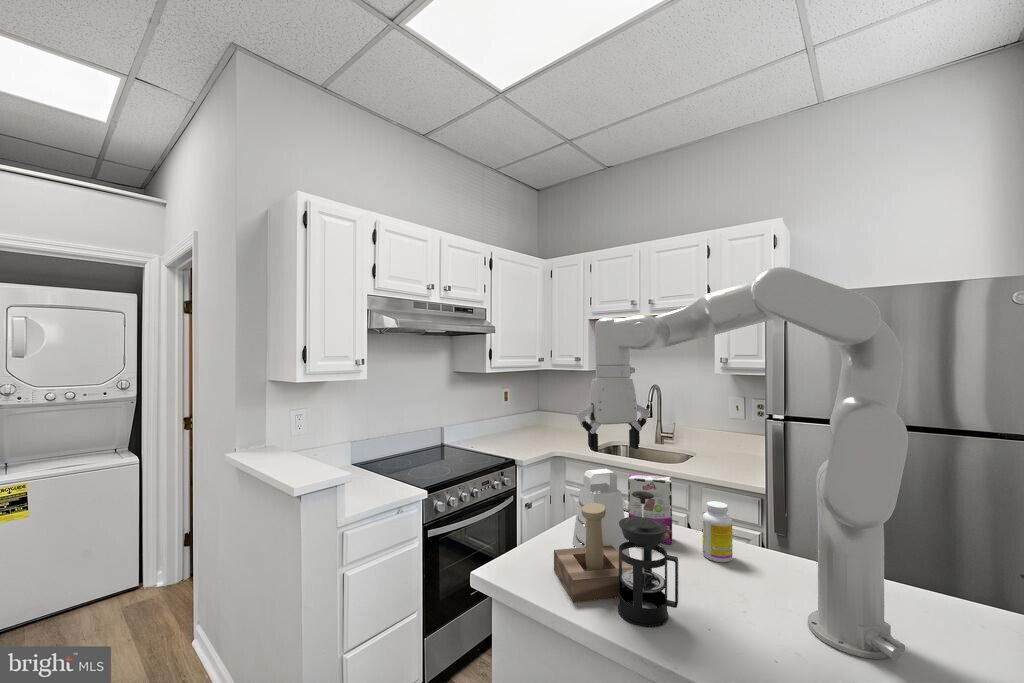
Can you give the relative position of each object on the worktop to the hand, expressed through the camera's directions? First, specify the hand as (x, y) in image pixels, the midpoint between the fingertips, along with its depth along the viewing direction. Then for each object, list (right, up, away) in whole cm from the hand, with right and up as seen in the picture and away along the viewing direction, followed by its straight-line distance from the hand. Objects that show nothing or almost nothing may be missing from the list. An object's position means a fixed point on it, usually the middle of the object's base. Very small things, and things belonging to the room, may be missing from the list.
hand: (614, 449), depth 104 cm
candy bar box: (+14, -29, +20) cm, 37 cm away
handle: (-5, -27, -3) cm, 28 cm away
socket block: (-5, -28, -3) cm, 29 cm away
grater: (-1, -29, +12) cm, 31 cm away
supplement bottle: (+27, -29, +9) cm, 40 cm away
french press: (+3, -28, -15) cm, 32 cm away
